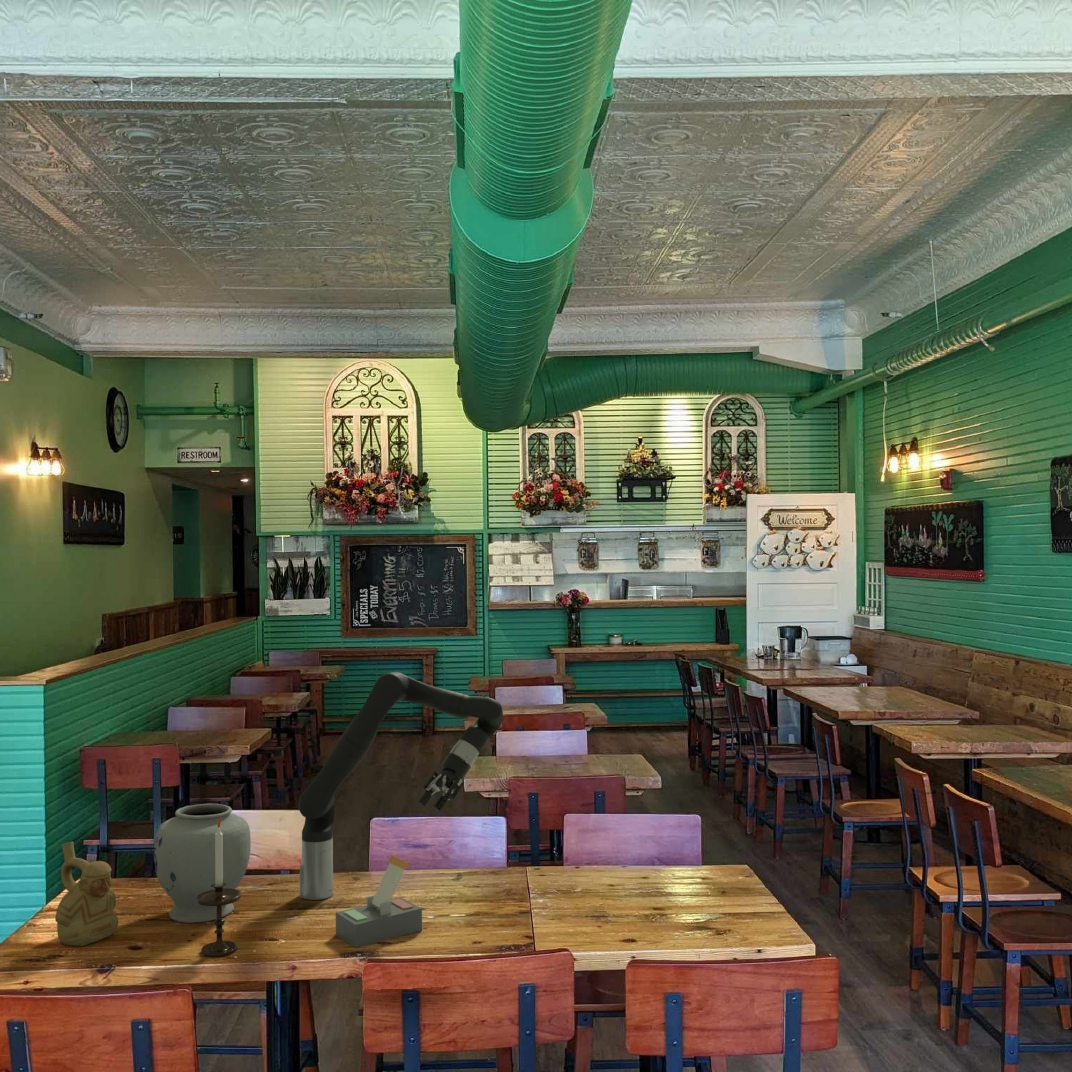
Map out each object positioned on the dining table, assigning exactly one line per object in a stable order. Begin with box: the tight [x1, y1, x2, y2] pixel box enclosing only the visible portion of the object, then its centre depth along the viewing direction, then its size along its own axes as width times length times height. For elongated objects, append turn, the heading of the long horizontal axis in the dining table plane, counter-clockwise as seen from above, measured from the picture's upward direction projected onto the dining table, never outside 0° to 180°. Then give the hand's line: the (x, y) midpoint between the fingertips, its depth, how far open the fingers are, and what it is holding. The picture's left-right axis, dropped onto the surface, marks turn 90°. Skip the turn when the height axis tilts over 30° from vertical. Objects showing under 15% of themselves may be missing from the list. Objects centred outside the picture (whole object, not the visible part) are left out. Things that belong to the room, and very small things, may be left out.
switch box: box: [335, 894, 423, 949], centre depth 273 cm, size 20×12×9 cm, turn 127°
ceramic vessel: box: [54, 841, 119, 947], centre depth 273 cm, size 17×20×25 cm
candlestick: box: [197, 817, 242, 958], centre depth 262 cm, size 11×11×35 cm
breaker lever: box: [372, 854, 410, 910], centre depth 275 cm, size 2×6×14 cm, turn 37°
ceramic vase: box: [153, 803, 252, 924], centre depth 291 cm, size 27×27×30 cm
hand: (428, 806), depth 284 cm, fingers open, 8 cm apart
